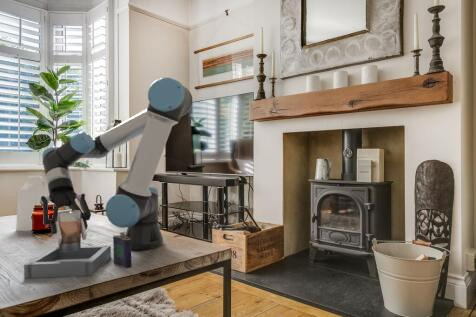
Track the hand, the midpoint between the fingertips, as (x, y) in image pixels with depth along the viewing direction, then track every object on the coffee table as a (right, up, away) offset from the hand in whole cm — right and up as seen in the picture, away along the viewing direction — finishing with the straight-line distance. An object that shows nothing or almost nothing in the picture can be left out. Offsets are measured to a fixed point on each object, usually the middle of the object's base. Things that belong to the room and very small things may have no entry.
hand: (72, 239), depth 105 cm
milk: (-49, -10, +63) cm, 80 cm away
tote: (-2, -9, +3) cm, 10 cm away
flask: (+14, -10, +4) cm, 18 cm away
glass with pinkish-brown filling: (-2, -4, +3) cm, 5 cm away
